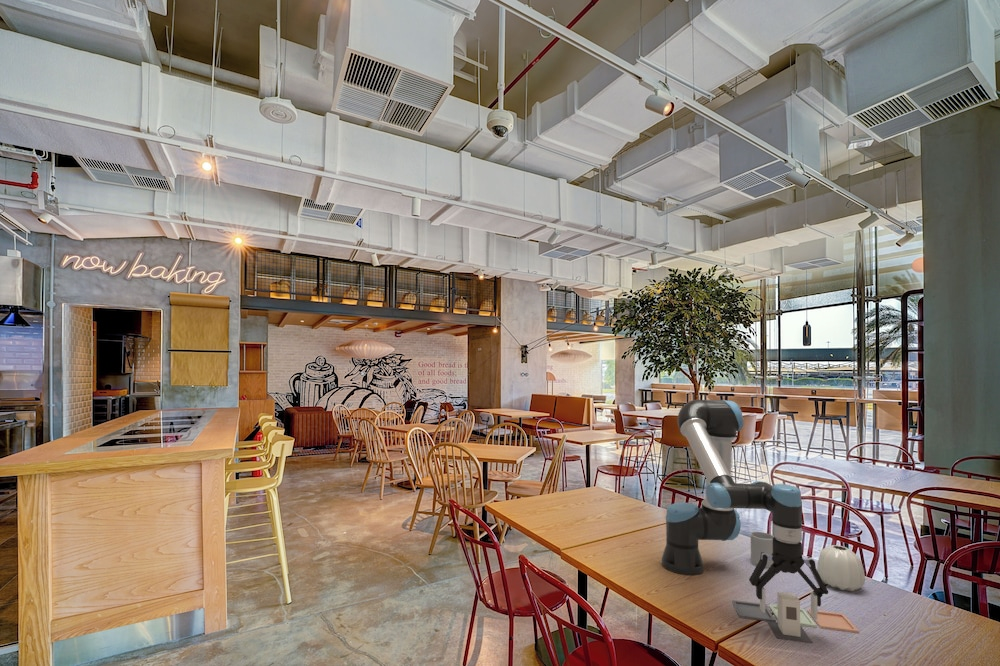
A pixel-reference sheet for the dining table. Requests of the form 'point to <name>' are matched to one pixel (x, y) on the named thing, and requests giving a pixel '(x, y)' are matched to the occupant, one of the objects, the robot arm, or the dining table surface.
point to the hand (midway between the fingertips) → (788, 613)
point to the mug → (761, 547)
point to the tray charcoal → (752, 611)
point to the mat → (780, 635)
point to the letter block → (788, 613)
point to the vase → (841, 568)
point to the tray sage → (804, 617)
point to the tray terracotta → (834, 621)
